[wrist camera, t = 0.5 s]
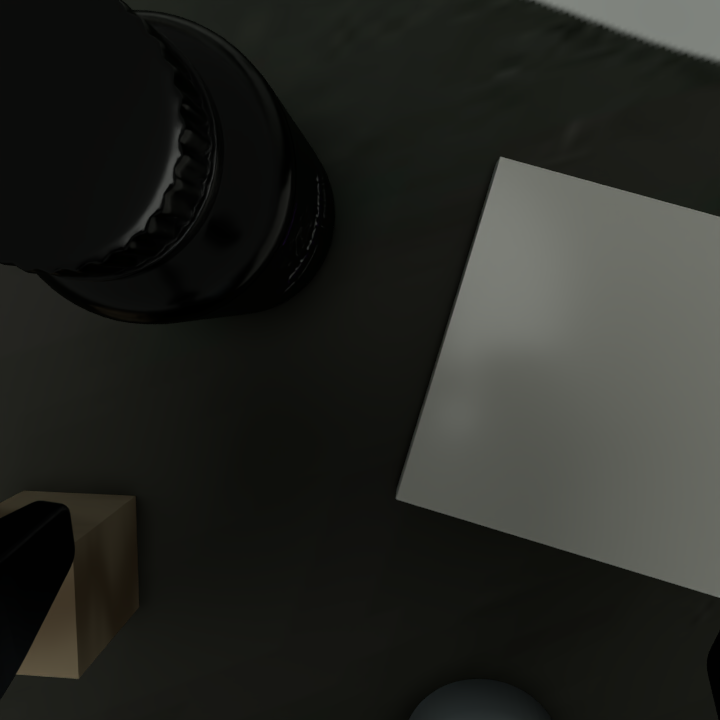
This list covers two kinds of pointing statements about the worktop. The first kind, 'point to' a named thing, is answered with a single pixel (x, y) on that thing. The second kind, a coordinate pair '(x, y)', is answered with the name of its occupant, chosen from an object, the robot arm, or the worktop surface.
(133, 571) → the oak block
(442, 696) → the blue-grey rounded cylinder
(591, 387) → the plate
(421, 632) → the worktop surface
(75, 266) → the supplement bottle
